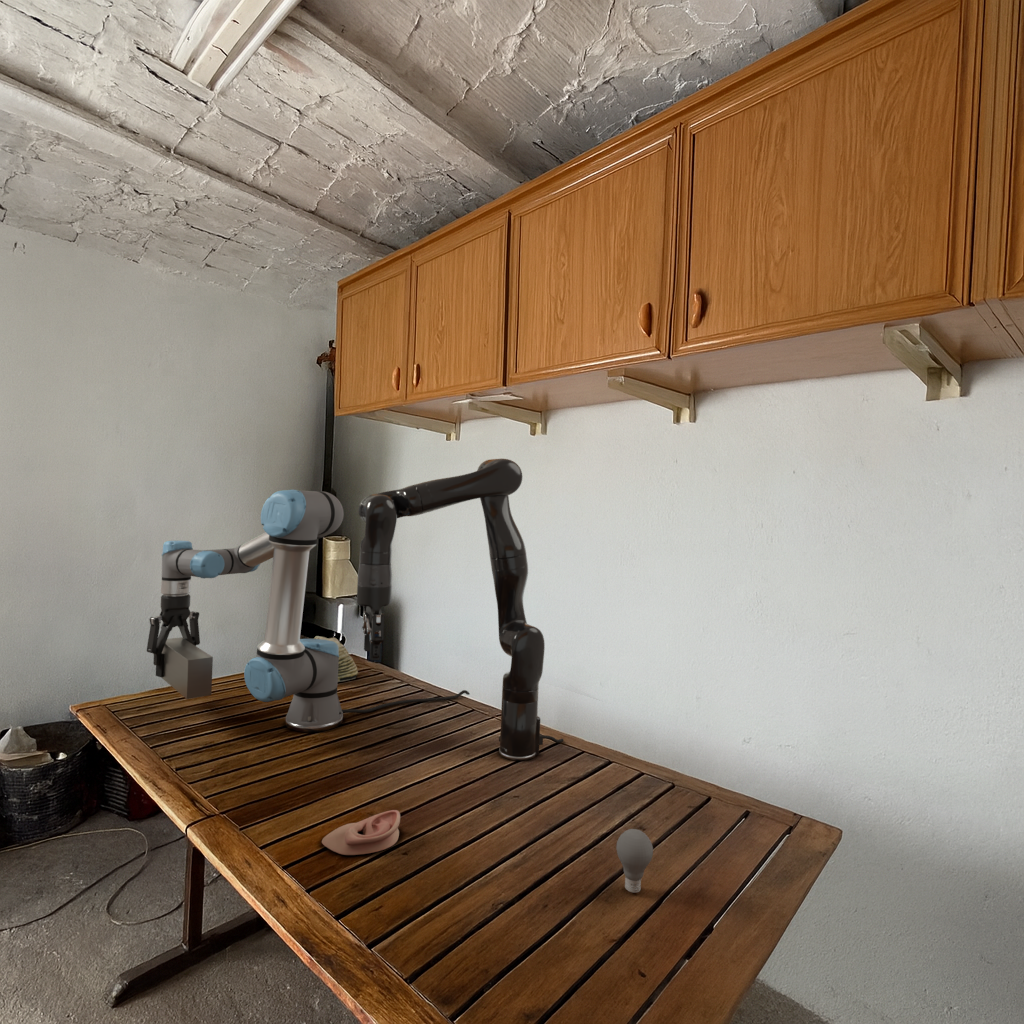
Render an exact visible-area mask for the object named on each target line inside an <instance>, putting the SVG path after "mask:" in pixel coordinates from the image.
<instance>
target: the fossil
mask: <svg viewBox="0 0 1024 1024" xmlns="http://www.w3.org/2000/svg"><path fill="white" fill-rule="evenodd" d="M313 639H322V640H329V641H333V642H335V643H337V645H338V647H339V664H338V683H340V682H346V681H350V680H351V681H352V680H355V679H357V677H358V675H359V671H358V666H357V664H356V663H355V661H354V659H353V657H352V656H351V655H350V652H349V651H348V650H347V648H346V647H345V646H344V645H343V644H342V643H341V641H340V640H339V639H337V638H336V637H329V638H327V637H325V636H319V635H316V636H315V637H314V638H313Z"/></svg>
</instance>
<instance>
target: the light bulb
mask: <svg viewBox="0 0 1024 1024" xmlns="http://www.w3.org/2000/svg"><path fill="white" fill-rule="evenodd" d="M615 849H616V854H617V857H618V859H619V861H620V863H621V865H622V867H623V873H624V874H623V875H624V876H625V878H624V888H625V890H627V891H628V892H630V893H634V894H635V893H639V892H640V891H641V889H642V887H641V886H642V879H643V877H644V875H645V871H646V868H647V867H648V866H649V864H650V863H651V861H652V859H653V855H654V847H653V843H652V841H651V838H649V836H648V835H647V834H646V833H645V832H643V831H642V830H641V829H636V828H629V829H627V830H625V831H623V832H622V833H621V834H620V835H619V837H618V839H617V841H616V847H615Z"/></svg>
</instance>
